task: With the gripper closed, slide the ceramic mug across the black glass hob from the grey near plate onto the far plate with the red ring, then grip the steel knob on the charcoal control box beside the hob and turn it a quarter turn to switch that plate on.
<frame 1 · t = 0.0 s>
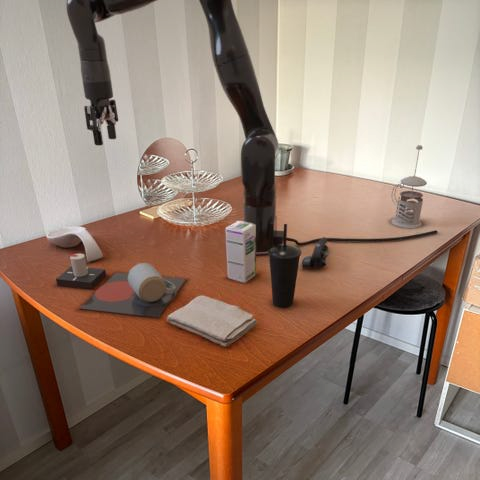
hand: (106, 142, 141), 29 cm above the table, tool pointing down, fingers open, 8 cm apart
syrup box: (241, 277, 132), on the table
drinking cup: (282, 304, 119), on the table
hob: (135, 294, 124), on the table
spoon rest: (77, 249, 149), on the table
french press: (404, 222, 165), on the table
ceramic mug: (154, 295, 123), resting on hob
can opener: (318, 260, 140), on the table
washcloth: (212, 325, 111), on the table
hob knob: (79, 264, 128), point 5 cm above the table, hinge at 0.0°
control box: (82, 280, 131), on the table
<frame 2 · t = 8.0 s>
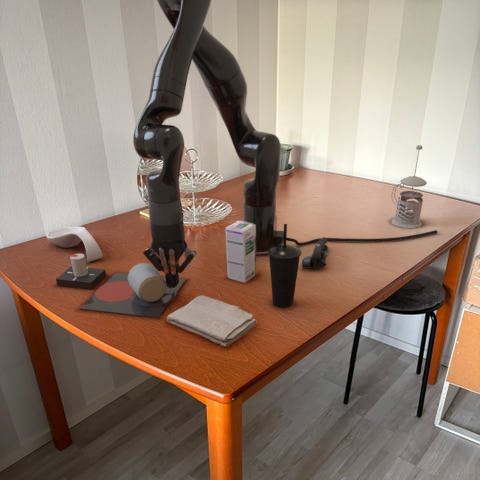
hand: (173, 286, 120), 3 cm above the table, tool pointing down, fingers closed
ceramic mug: (154, 295, 123), resting on hob, touching gripper
everything else where it was.
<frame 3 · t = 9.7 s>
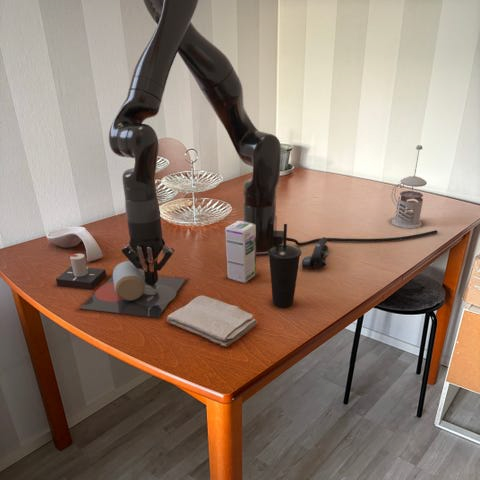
hand: (152, 283, 121), 4 cm above the table, tool pointing down, fingers closed
ceramic mug: (136, 294, 123), resting on hob, touching gripper
everything else where it was.
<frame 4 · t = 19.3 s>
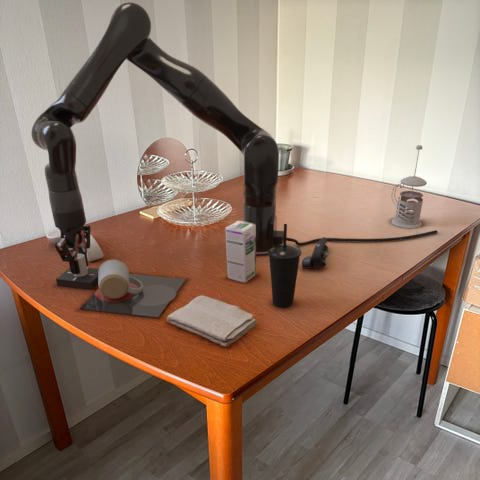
hand: (80, 269, 129), 3 cm above the table, tool pointing down, fingers closed on hob knob, 3 cm apart
ceramic mug: (121, 293, 124), resting on hob
hob knob: (79, 264, 128), point 5 cm above the table, hinge at 0.1°, touching gripper
everything else where it was.
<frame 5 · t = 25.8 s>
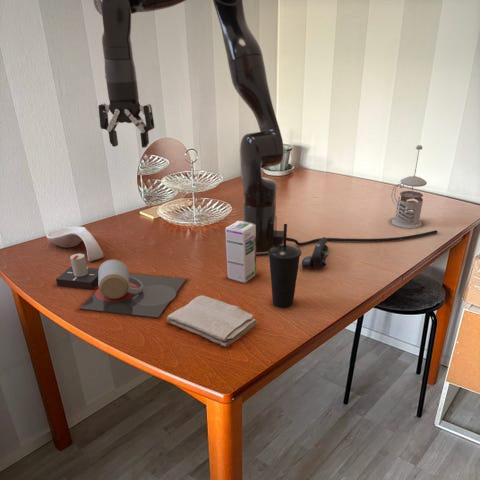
hand: (129, 146, 132), 30 cm above the table, tool pointing down, fingers open, 8 cm apart
hob knob: (79, 264, 128), point 5 cm above the table, hinge at 92.7°
everything else where it was.
at the end: ceramic mug inside the target area on the hob (1.7 cm from its centre), point 0.1 cm above the hob's base; ceramic mug tilted 0°; hob knob at +93° (first picture: +0°) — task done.
